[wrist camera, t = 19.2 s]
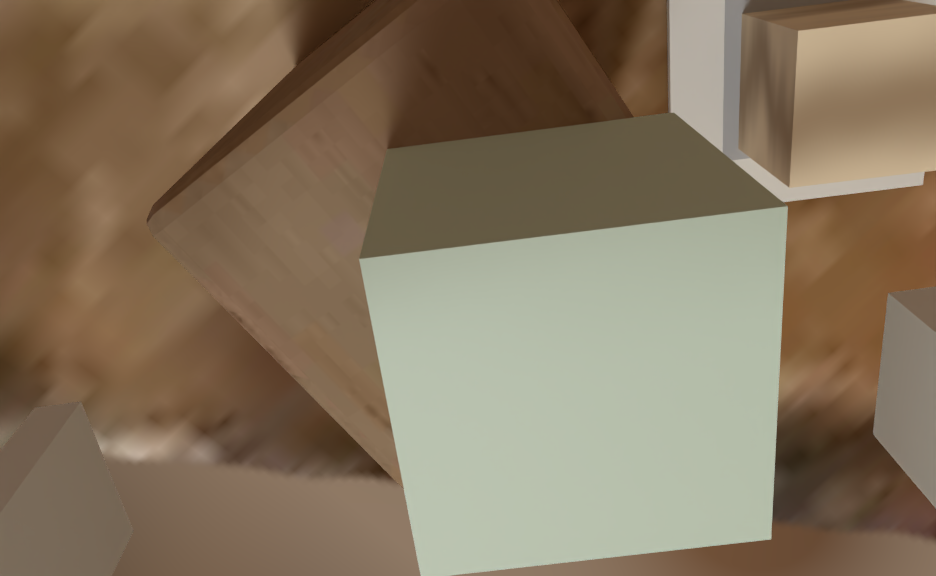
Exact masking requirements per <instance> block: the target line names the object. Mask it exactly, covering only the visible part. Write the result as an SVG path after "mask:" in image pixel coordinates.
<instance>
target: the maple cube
mask: <svg viewBox="0 0 936 576" xmlns="http://www.w3.org/2000/svg"><path fill="white" fill-rule="evenodd" d="M738 149H739V150H740V151H742V152H743V153H744V154H746V155H747V156H748V157H750V158H751V159H752V160H754V161H755V162H756V163H757V164H759V165H760V166H761V167H763V168H764V169H765V170H767V171H768V172H769V173H771V174H772V175H773V176H774V177H776V178H777V179H778V180H780V181H781V182H782V183H784V184H785V185H786V186H788V187H789V188H793V187H801V186H810V185H818V184H826V183H835V182H843V181H851V180H860V179H868V178H876V177H885V176H893V175H901V174H910V173H918V172H926V171H935V170H936V5H930V4H924V3H918V2H912V1H906V0H848V1H840V2H832V3H824V4H816V5H808V6H800V7H792V8H784V9H776V10H768V11H760V12H752V13H744V14H742V28H741V65H740V102H739V139H738Z"/></svg>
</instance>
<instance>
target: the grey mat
mask: <svg viewBox="0 0 936 576" xmlns="http://www.w3.org/2000/svg"><path fill="white" fill-rule="evenodd" d="M840 1H848V0H667V45H668V113H673V112H674V113H675V114H676V115H678V116H679V117H680V118H681V119H682V120H684V121H685V122H686V123H687V124H688V125H690V126H691V127H692V128H693V129H695V130H696V131H697V132H698V133H699V134H701V135H702V136H703V137H704V138H705V139H707V140H708V141H709V142H710V143H712V144H713V145H714V146H715V147H716V148H718V149H719V150H720V151H721V152H722V153H724V154H725V155H726V156H727V157H729V158H730V159H731V160H732V161H733V162H735V163H736V164H737V165H738V166H739V167H741V168H742V169H743V170H744V171H746V172H747V173H748V174H749V175H750V176H752V177H753V178H754V179H755V180H757V181H758V182H759V183H760V184H761V185H763V186H764V187H765V188H766V189H767V190H769V191H770V192H771V193H772V194H774V195H775V196H776V197H777V198H778V199H780V200H781V201H782V202H787V201H796V200H804V199H812V198H820V197H828V196H836V195H845V194H853V193H861V192H869V191H877V190H885V189H894V188H902V187H910V186H918V185H923V179H924V172H918V173H910V174H901V175H893V176H885V177H876V178H868V179H860V180H851V181H843V182H835V183H826V184H818V185H810V186H801V187H793V188H789V187H788V186H786V185H785V184H784V183H782V182H781V181H780V180H778V179H777V178H776V177H774V176H773V175H772V174H771V173H769V172H768V171H767V170H765V169H764V168H763V167H761V166H760V165H759V164H757V163H756V162H755V161H754V160H752V159H751V158H750V157H748V156H747V155H746V154H744V153H743V152H742V151H740V150H739V149H738V139H739V102H740V65H741V28H742V14H744V13H752V12H760V11H768V10H776V9H784V8H792V7H800V6H808V5H816V4H824V3H832V2H840ZM906 1H912V2H918V3H924V4H930V5H936V0H906Z"/></svg>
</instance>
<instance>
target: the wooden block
mask: <svg viewBox="0 0 936 576" xmlns="http://www.w3.org/2000/svg"><path fill="white" fill-rule="evenodd" d="M626 118H634V117H633V115H632V114H631V112H630V111H629V109H628V108H627V106H626V105H625V103H624V102H623V100H622V99H621V97H620V96H619V94H618V93H617V91H616V89H615V88H614V86H613V85H612V83H611V82H610V80H609V79H608V77H607V76H606V74H605V73H604V71H603V70H602V68H601V67H600V65H599V64H598V62H597V61H596V59H595V58H594V56H593V55H592V53H591V52H590V50H589V49H588V47H587V45H586V44H585V42H584V41H583V39H582V38H581V36H580V35H579V33H578V32H577V30H576V29H575V27H574V26H573V24H572V23H571V21H570V20H569V18H568V17H567V15H566V14H565V12H564V11H563V9H562V8H561V6H560V5H559V3H558V2H557V0H376V1H374V2H373V3H372V4H371V5H370V6H368V7H367V8H366V9H365V10H364V11H362V12H361V13H360V14H359V15H357V16H356V17H355V18H354V19H353V20H351V21H350V22H349V23H348V24H347V25H345V26H344V27H343V28H342V29H340V30H339V31H338V32H337V33H336V34H334V35H333V36H332V37H331V38H329V39H328V40H327V41H326V42H325V43H323V44H322V45H321V46H320V47H319V48H317V49H316V50H315V51H314V52H312V53H311V54H310V55H309V56H308V57H306V58H305V59H304V60H303V61H302V62H300V63H299V64H298V65H297V66H296V67H295V68H294V69H293V70H292V71H291V72H290V73H289V74H288V75H286V76H285V77H284V78H283V79H282V80H281V81H280V82H279V83H278V84H277V85H276V86H275V87H274V88H273V89H272V90H271V91H270V92H269V93H268V94H267V95H266V96H265V97H264V98H263V99H262V100H261V101H260V102H259V103H258V104H257V105H256V106H255V107H254V108H252V109H251V110H250V111H249V112H248V113H247V114H246V115H245V116H244V117H243V118H242V119H241V120H240V121H239V122H238V123H237V124H236V125H235V126H234V127H233V128H232V129H231V130H230V131H229V132H228V133H227V134H226V135H225V136H224V137H223V138H222V139H221V140H220V141H218V142H217V143H216V144H215V145H214V146H213V147H212V148H211V149H210V150H209V151H208V152H207V153H206V154H205V155H204V156H203V157H202V158H201V159H200V160H199V161H198V162H197V163H196V164H195V165H194V166H193V167H192V168H191V169H190V170H189V171H188V172H187V173H186V174H184V175H183V176H182V177H181V178H180V179H179V180H178V181H177V182H176V183H175V184H174V185H173V186H172V187H171V188H170V189H169V190H168V191H167V192H166V193H165V194H164V195H163V196H162V197H161V198H160V199H159V200H158V201H157V202H156V203H155V204H154V205H153V207H152V209H151V211H150V213H149V215H148V218H147V226H148V227H149V229H150V231H151V233H152V235H153V237H154V238H155V239H156V240H157V241H158V242H159V243H160V244H161V245H162V246H163V247H164V248H165V249H166V250H167V251H168V252H169V253H170V254H171V255H172V256H173V257H174V258H175V259H176V260H177V261H178V262H179V263H180V264H181V265H182V266H183V267H184V268H185V269H186V270H187V271H188V272H189V273H190V274H191V275H192V276H193V277H194V278H195V279H196V280H197V281H198V282H199V283H200V284H201V285H202V286H203V287H204V288H205V289H206V290H207V291H208V292H209V293H210V294H211V295H212V296H213V297H214V298H215V299H216V300H217V301H218V302H219V303H220V304H221V305H222V306H223V307H224V308H225V309H226V310H227V311H228V312H229V313H230V314H231V315H232V316H233V317H234V318H235V319H236V320H237V321H238V322H239V323H240V324H241V325H242V326H243V327H244V328H245V330H246V331H247V332H248V333H249V334H250V335H251V336H252V337H253V338H254V339H255V340H256V341H257V342H258V343H259V344H260V345H261V346H262V347H263V348H264V349H265V350H266V351H267V352H268V353H269V354H270V355H271V356H272V357H273V358H274V359H275V360H276V361H277V362H278V363H279V364H280V365H281V366H282V367H283V368H284V369H285V370H286V371H287V372H288V373H289V374H290V375H291V376H292V377H293V378H294V379H295V380H296V381H297V382H298V383H299V384H300V385H301V386H302V387H303V388H304V389H305V390H306V391H307V392H308V393H309V394H310V395H311V396H312V397H313V398H314V399H315V400H316V401H317V402H318V403H319V404H320V405H321V406H322V407H323V408H324V409H325V410H326V411H327V412H328V413H329V414H330V415H331V416H332V417H333V418H334V419H335V420H336V421H337V422H338V423H339V424H340V425H341V426H342V427H343V428H344V429H345V430H346V431H347V432H348V433H349V434H350V435H351V436H352V437H353V438H354V439H355V440H356V441H357V442H358V443H359V444H360V445H361V446H362V447H363V449H364V450H365V451H366V452H367V453H368V454H369V455H370V456H371V457H372V458H373V459H374V460H375V461H376V462H377V463H378V464H379V465H380V466H381V467H382V468H383V469H384V470H385V471H386V472H387V473H388V474H389V475H390V476H391V477H392V478H393V479H394V480H395V481H396V482H397V483H398V484H399V485H400V486H401V487H402V488H403V489H404V487H403V482H402V477H401V472H400V467H399V462H398V456H397V451H396V446H395V441H394V436H393V431H392V426H391V421H390V415H389V410H388V405H387V400H386V395H385V390H384V385H383V379H382V374H381V369H380V364H379V359H378V354H377V349H376V344H375V338H374V333H373V328H372V323H371V318H370V313H369V308H368V302H367V297H366V292H365V287H364V282H363V277H362V272H361V267H360V261H359V257H360V254H361V250H362V246H363V242H364V238H365V234H366V230H367V226H368V222H369V218H370V214H371V210H372V206H373V202H374V198H375V195H376V191H377V187H378V183H379V179H380V175H381V171H382V167H383V163H384V159H385V155H386V151H387V149H392V148H400V147H407V146H415V145H423V144H431V143H439V142H447V141H454V140H462V139H470V138H478V137H486V136H494V135H502V134H509V133H517V132H525V131H533V130H541V129H549V128H556V127H564V126H572V125H580V124H588V123H596V122H604V121H610V120H618V119H626Z"/></svg>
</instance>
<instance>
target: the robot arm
mask: <svg viewBox="0 0 936 576" xmlns="http://www.w3.org/2000/svg"><path fill="white" fill-rule="evenodd" d="M873 435H874V436H875V437H876V438H877V439H878V441H879V442H880V443H881V444H882V445H883V447H884V448H885V449H886V450H887V451H888V452H889V454H890V455H891V456H892V457H893V458H894V460H895V461H896V462H897V463H898V464H899V465H900V467H901V468H902V469H903V470H904V471H905V473H906V474H907V475H908V476H909V477H910V478H911V480H912V481H913V482H914V483H915V484H916V486H917V487H918V488H919V489H920V490H921V491H922V493H923V494H924V495H925V496H926V497H927V499H928V500H929V501H930V502H931V503H932V504H933V506H934V507H935V508H936V287H929V288H922V289H914V290H907V291H900V292H892V293H888V299H887V309H886V318H885V327H884V336H883V346H882V355H881V364H880V373H879V383H878V392H877V401H876V410H875V420H874V429H873ZM132 533H133V528H132V526H131V524H130V521H129V519H128V516H127V514H126V511H125V509H124V507H123V504H122V502H121V499H120V496H119V494H118V492H117V489H116V487H115V484H114V482H113V479H112V477H111V474H110V472H109V469H108V467H107V465H106V462H105V460H104V457H103V455H102V452H101V450H100V447H99V445H98V442H97V440H96V437H95V435H94V433H93V430H92V428H91V425H90V423H89V420H88V418H87V415H86V413H85V410H84V408H83V406H82V403H81V402H74V403H67V404H59V405H52V406H44V407H37V408H34V409H33V411H32V412H31V413H30V414H29V416H28V417H27V418H26V419H25V421H24V422H23V423H22V424H21V425H20V427H19V428H18V429H17V430H16V432H15V433H14V434H13V435H12V437H11V438H10V439H9V440H8V442H7V443H6V444H5V445H4V447H3V448H2V449H1V450H0V576H112V574H113V572H114V570H115V568H116V566H117V564H118V562H119V560H120V558H121V555H122V553H123V552H124V549H125V547H126V545H127V543H128V541H129V539H130V537H131V535H132Z"/></svg>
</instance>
